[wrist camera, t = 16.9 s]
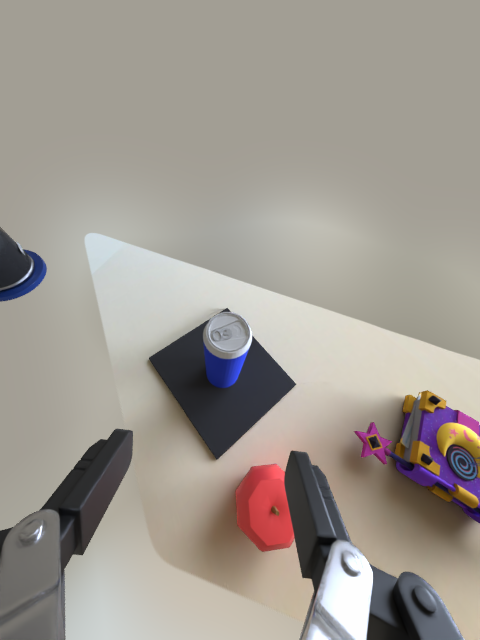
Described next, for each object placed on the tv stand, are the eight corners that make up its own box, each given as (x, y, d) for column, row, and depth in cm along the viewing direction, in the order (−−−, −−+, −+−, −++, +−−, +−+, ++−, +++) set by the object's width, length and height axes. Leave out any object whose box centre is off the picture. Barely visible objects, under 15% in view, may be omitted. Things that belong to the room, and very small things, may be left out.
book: (522, 568, 28) (712, 645, 17) (340, 448, 32) (403, 451, 22) (516, 454, 35) (651, 459, 24) (366, 367, 39) (424, 339, 29)
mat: (216, 459, 30) (216, 459, 30) (149, 359, 36) (148, 358, 35) (295, 385, 36) (296, 384, 36) (227, 309, 42) (227, 307, 41)
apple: (222, 523, 27) (225, 552, 20) (241, 451, 31) (250, 454, 24) (285, 548, 27) (310, 586, 20) (296, 471, 30) (321, 480, 24)
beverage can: (232, 353, 37) (243, 304, 24) (243, 382, 35) (261, 347, 22) (202, 362, 36) (196, 316, 23) (211, 393, 34) (210, 362, 21)
